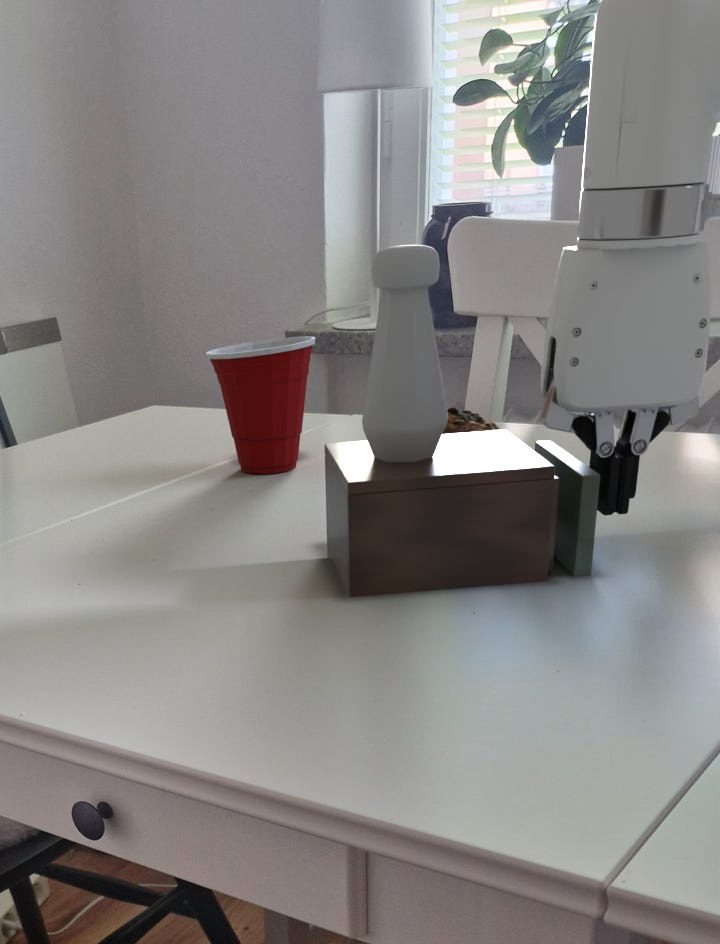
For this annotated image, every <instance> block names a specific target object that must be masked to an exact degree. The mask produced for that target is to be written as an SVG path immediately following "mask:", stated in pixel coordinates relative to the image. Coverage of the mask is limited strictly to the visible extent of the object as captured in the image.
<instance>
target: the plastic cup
mask: <svg viewBox="0 0 720 944" xmlns="http://www.w3.org/2000/svg"><path fill="white" fill-rule="evenodd" d="M315 344H316V337H315V336H307V335H306V336H291V337H281V338H271V339H265V340H264V339H263V340H258V341H251V342H244V343H238V344H233V345H228V346H224V347H220V348H215V349H211V350H209V351H206V353H205V356H206V358H207V359H209V360H210V363H211V365H212V366H213V370H214V373H215V374H216V379H217V380H218V384H219V386H220V390H221V395H222V400H223V403H224V408H225V412H226V416H227V419H228V424H229V429H230V433H231V437H232V438H233V441H234V447H235V451H236V456H237V462H238V464H239V466H240V470H241V472H244V473H248V474H251V475H253V474H255V475H265V474H266V475H268V474H269V475H270V474H278V473H284V472H285V473H286V472H288V471H292V470H294V469H296V468H297V462H298V460H299V452H300V442H301V434H302V433H303V422H304V415H305V414H304V412H305V403H306V395H307V384H308V375H309V373H310V363H311V354H312V352H313V351H312V350H313V346H314V345H315Z"/></svg>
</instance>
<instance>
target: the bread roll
mask: <svg viewBox="0 0 720 944" xmlns="http://www.w3.org/2000/svg"><path fill="white" fill-rule="evenodd" d="M447 412H448V421H447V425H446V427H445V429H444V431H443V433H442V434H454V433H467V432H480V431H492V430H501V427H500V426H499V425H498V424H497V423H495V422H493V421H491V420H490V419H486V418H485V417H483V416H480V414H479V413H477V412H476V413H475V412H472V410H469V409H463V410H462V411H460V410H459V408H457V407H454V406H451V407H449V408H447Z"/></svg>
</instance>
